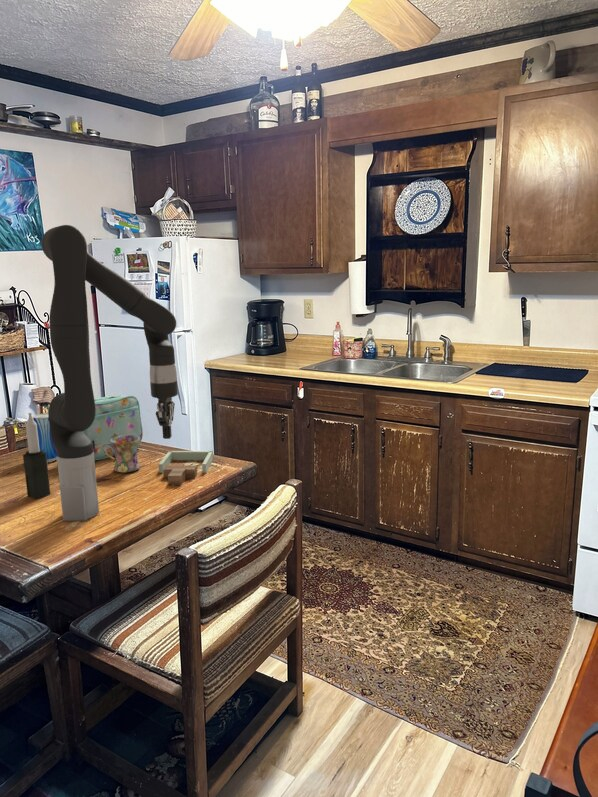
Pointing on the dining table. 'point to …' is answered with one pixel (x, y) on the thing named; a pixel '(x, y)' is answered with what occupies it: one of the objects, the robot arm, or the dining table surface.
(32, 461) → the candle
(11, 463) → the dining table surface
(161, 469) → the bay
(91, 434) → the lunch box
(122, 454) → the mug
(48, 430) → the beer can
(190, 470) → the t block
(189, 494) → the dining table surface
